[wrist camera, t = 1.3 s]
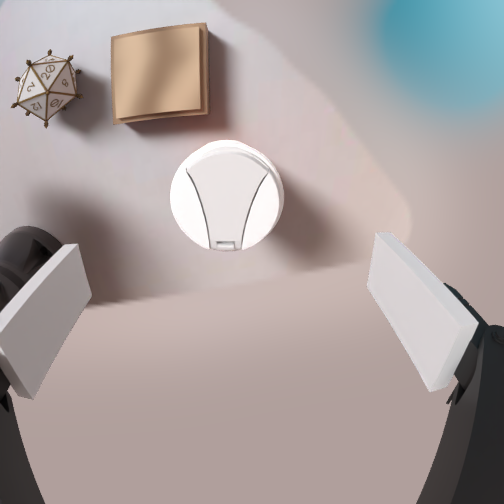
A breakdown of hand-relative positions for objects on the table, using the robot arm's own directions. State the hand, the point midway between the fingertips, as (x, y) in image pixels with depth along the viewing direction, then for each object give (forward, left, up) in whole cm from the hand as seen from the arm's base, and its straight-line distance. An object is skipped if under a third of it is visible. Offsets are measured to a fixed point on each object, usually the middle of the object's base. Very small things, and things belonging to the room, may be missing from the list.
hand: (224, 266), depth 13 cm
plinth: (-7, +11, -24) cm, 27 cm away
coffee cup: (0, 0, -24) cm, 24 cm away
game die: (-20, +12, -24) cm, 34 cm away
